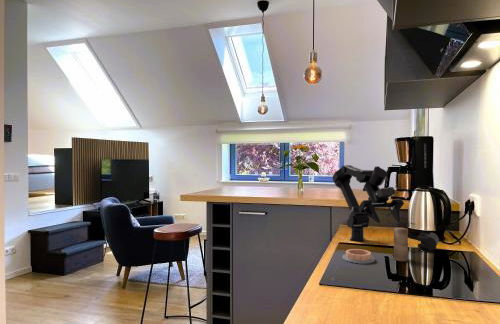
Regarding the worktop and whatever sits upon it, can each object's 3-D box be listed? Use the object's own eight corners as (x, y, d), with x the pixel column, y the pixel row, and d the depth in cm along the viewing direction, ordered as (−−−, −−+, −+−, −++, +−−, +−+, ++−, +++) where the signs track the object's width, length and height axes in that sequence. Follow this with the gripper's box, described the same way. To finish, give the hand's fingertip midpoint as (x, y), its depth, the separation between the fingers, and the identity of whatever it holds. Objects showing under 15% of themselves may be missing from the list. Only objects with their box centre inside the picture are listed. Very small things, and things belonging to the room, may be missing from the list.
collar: (344, 253, 145) (344, 247, 145) (375, 256, 141) (375, 249, 141) (340, 261, 134) (340, 254, 134) (373, 265, 130) (373, 257, 130)
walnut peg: (393, 257, 140) (393, 227, 140) (407, 258, 138) (407, 228, 138) (393, 260, 135) (394, 229, 135) (408, 261, 134) (408, 230, 133)
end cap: (436, 253, 145) (436, 237, 145) (417, 251, 149) (417, 235, 149) (438, 248, 153) (438, 232, 153) (421, 246, 157) (421, 231, 157)
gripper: (361, 181, 147) (376, 211, 136) (401, 180, 151) (418, 209, 140) (352, 197, 155) (365, 227, 144) (390, 196, 159) (406, 225, 148)
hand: (389, 222), depth 144 cm, fingers open, 9 cm apart
